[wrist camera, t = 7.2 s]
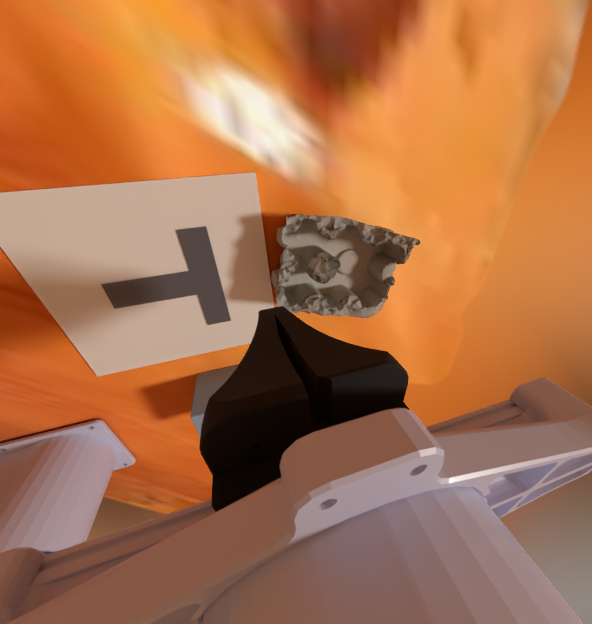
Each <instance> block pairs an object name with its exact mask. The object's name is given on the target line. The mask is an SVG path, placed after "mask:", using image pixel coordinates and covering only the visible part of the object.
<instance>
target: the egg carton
mask: <svg viewBox="0 0 592 624" xmlns="http://www.w3.org/2000/svg"><path fill="white" fill-rule="evenodd" d="M276 241H277V242H278V243H279V244H280V246H281V247H282V248H284V251H283V253H282V254H281V257H280V265H281V267H280V268H279V269H275V270H273V271H272V276H271V282H272V283H273V286H274V287H275V290H276V300H277V307H280V306H284V307H285V308H286V309H287V310H289V311H290V312H291V313H297V312H307V313H309V314H310V313H311V312H312V313H316V314H319V315H321V316H323V315H337V316H343V315H346V316H353V317H360V318H369V317H371V316H373V315H375V314H376V313H377V312H379V311H380V310H381V309H382V306H383V304H384V302H385V301H386V300H387V299H388V296H387V294H388V291H389V289H390V287H391V286H392V285H394V283H395V280H394V278H393V277H392V275H393V272H394V270H395V267H396V264H404V263H405V262H406V261H407V259H408V257H409V255H410V253H411V249H412V248H413V247H414V245H419V244H420V241H419V240H418V239H415V238H412V237H407V236H404V235H400V234H396V233H394V232H393V231H391V230H390V229H387V228H383V227H379V226H372V225H367V224H364V223H360V222H357V221H354V220H351V219H347V218H343V217H335V216H317V215H312V216H306V215H302V214H296V215H294V216H293V217H288V216H287V217H286V225H285V226H282V227H280V228H278V229H277V236H276Z"/></svg>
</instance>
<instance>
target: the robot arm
mask: <svg viewBox="0 0 592 624" xmlns="http://www.w3.org/2000/svg"><path fill="white" fill-rule="evenodd" d="M258 314H259V316H258V323H257V327H256V331H255V334H254V336H253V339H252V342H251V344H250V346H249V348H248V350H247V352H246V354H245V356H244V357H243V359H242V361H241V362H240V364H239V365H238V367H237V368H236V370H235V371H234V372H233V373H232V375H231V376H230V377H229V378H228V380H227V381H226V382H225V383H224V384H223V385H222V386H221V387H220V388H219V389H218V390H217V391H216V392H215V393H214V394H213V395H212V396H211V397H210V398H209V400H208V403H207V406H206V410H205V413H204V417H203V422H202V427H201V437H200V451H201V455H202V457H203V458H204V460H205V462H206V464H207V466H208V468H209V469H210V471H211V473H212V475H213V484H212V499H211V500H208V501H205V502H202V503H199V504H196V505H193V506H190V507H187V508H184V509H181V510H178V511H175V512H172V513H169V514H167V515H164V516H161V517H158V518H155V519H152V520H149V521H146V522H143V523H140V524H137V525H134V526H131V527H128V528H125V529H122V530H119V531H116V532H113V533H110V534H107V535H104V536H101V537H98V538H95V539H92V540H89V541H86V540H87V537H88V534H89V532H90V529H91V527H92V524H93V522H94V519H95V516H96V514H97V511H98V508H99V506H100V503H101V501H102V498H103V495H104V493H105V490H106V488H107V485H108V482H109V480H110V477H111V475H112V472H113V470H117V469H120V468H124V467H127V466H131V465H133V464H134V463H135V460H136V459H135V458H134V456H133V455H132V454H131V453H130V452H129V451H128V449H127V448H126V447H125V446H124V445H123V444H122V442H121V441H120V440H119V439H118V438H117V437H116V435H115V434H114V433H113V432H112V431H111V430H110V428H109V427H108V426H107V425H106V424H105V423H104V421H102V420H93V421H89V422H85V423H81V424H77V425H73V426H69V427H65V428H61V429H57V430H53V431H49V432H45V433H41V434H37V435H33V436H29V437H25V438H21V439H17V440H13V441H9V442H5V443H1V444H0V624H583V622H582V621H581V620H580V619H579V617H578V616H577V615H576V614H575V613H574V612H573V610H572V609H571V608H570V606H569V605H568V604H567V603H566V601H565V600H564V599H563V598H562V596H561V595H560V594H559V593H558V592H557V590H556V589H555V588H554V586H553V585H552V584H551V583H550V581H549V580H548V579H547V578H546V576H545V575H544V574H543V573H542V572H541V570H540V569H539V568H538V567H537V565H536V564H535V563H534V562H533V560H532V559H531V558H530V557H529V555H528V554H527V553H526V552H525V551H524V549H523V548H522V547H521V545H520V544H519V543H518V542H517V540H516V539H515V538H514V537H513V536H512V534H511V533H510V532H509V531H508V529H507V528H506V527H505V525H504V524H503V523H502V522H501V520H500V519H499V518H501V517H502V516H504V515H506V514H508V513H510V512H512V511H514V510H516V509H518V508H519V507H521V506H523V505H525V504H527V503H529V502H531V501H533V500H535V499H536V498H538V497H540V496H542V495H544V494H546V493H548V492H550V491H552V490H554V489H556V488H558V487H560V486H562V485H564V484H566V483H568V482H570V481H573V480H575V479H576V478H579V477H581V476H583V475H585V474H587V473H589V472H590V471H591V470H592V407H591V406H590V405H588V404H586V403H585V402H583V401H582V400H580V399H578V398H577V397H575V396H574V395H572V394H570V393H569V392H567V391H566V390H564V389H562V388H561V387H559V386H558V385H556V384H554V383H553V382H551V381H549V380H548V379H546V378H538V379H535V380H532V381H529V382H526V383H523V384H521V385H519V386H518V387H517V388H515V390H514V391H513V392H512V394H511V396H510V399H509V400H506V401H503V402H500V403H497V404H494V405H491V406H488V407H485V408H482V409H479V410H476V411H473V412H470V413H467V414H464V415H461V416H458V417H455V418H452V419H449V420H446V421H444V422H441V423H438V424H434V425H432V426H429V427H425V426H424V425H423V423H422V422H421V421H420V420H419V418H418V417H417V416H416V415H415V414H414V413H413V412H411V411H410V410H409V408H408V407H407V406H406V405H405V403H404V402H403V400H404V396H405V393H406V389H407V385H408V374H407V371H406V370H405V369H404V368H403V367H402V366H401V365H400V364H399V363H398V361H397V360H396V359H395V358H394V357H393V356H392V355H391V354H389V353H388V352H386V351H381V350H375V349H369V348H364V347H361V346H357V345H353V344H350V343H346V342H343V341H341V340H338V339H335V338H333V337H330V336H328V335H326V334H324V333H322V332H319V331H318V330H316V329H314V328H312V327H311V326H309V325H307V324H306V323H304V322H303V321H302V320H300V319H299V318H297V317H296V316H295V315H293V314H292V313H291V312H290V311H289V310H287V309H286V308H285V307H284V306H280V307H275V308H269V309H264V310H260V311H259V312H258Z"/></svg>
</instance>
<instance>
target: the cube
mask: <svg viewBox="0 0 592 624" xmlns="http://www.w3.org/2000/svg"><path fill="white" fill-rule="evenodd" d="M238 365H239V364H238ZM238 365H233V366H229V367H225V368H220V369H216V370H211V371H207V372H203V373H198V374H197V378H196V384H195V391H194V398H193V405H192V411H191V419H192V421H193V423H194V425H195V427H196V429H197V431H198V433H199V435H200V437H201V427H202V422H203V417H204V413H205V410H206V406H207V403H208V400H209V398H210V397H211V396H212V395H213V394H214V393H215V392H216V391H217V390H218V389H219V388H220V387H221V386H222V385H223V384H224V383H225V382H226V381H227V380H228V378H229V377H230V376H231V375H232V373H233V372H234V371H235V370H236V368H237V367H238Z"/></svg>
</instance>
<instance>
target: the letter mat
mask: <svg viewBox="0 0 592 624" xmlns="http://www.w3.org/2000/svg"><path fill="white" fill-rule="evenodd" d="M0 247H1V248H2V250H3V251H4V252H5V254H6V255H7V256H8V258H9V259H10V260H11V262H12V263H13V264H14V266H15V267H16V268H17V270H18V271H19V272H20V274H21V275H22V276H23V278H24V279H25V280H26V282H27V283H28V284H29V286H30V287H31V288H32V290H33V291H34V293H35V294H36V295H37V297H38V298H39V299H40V301H41V302H42V303H43V305H44V306H45V307H46V309H47V310H48V311H49V313H50V314H51V315H52V317H53V318H54V319H55V321H56V322H57V323H58V325H59V326H60V327H61V329H62V330H63V331H64V333H65V334H66V335H67V337H68V338H69V339H70V341H71V342H72V343H73V345H74V346H75V347H76V349H77V350H78V351H79V353H80V354H81V355H82V357H83V358H84V359H85V361H86V362H87V363H88V365H89V366H90V367H91V369H92V370H93V371H94V373H95V374H96V375H97V377H98V376H102V375H107V374H112V373H116V372H121V371H125V370H130V369H135V368H139V367H144V366H148V365H153V364H158V363H162V362H167V361H171V360H176V359H180V358H185V357H190V356H194V355H199V354H203V353H208V352H213V351H217V350H222V349H226V348H231V347H236V346H240V345H245V344H249V343H251V342H252V339H253V336H254V334H255V331H256V327H257V323H258V316H259V314H258V312H259V311H260V310H264V309H269V308H274V301H273V294H272V287H271V279H270V272H269V265H268V258H267V251H266V243H265V236H264V229H263V222H262V215H261V208H260V200H259V193H258V186H257V179H256V172H251V173H238V174H226V175H214V176H201V177H189V178H176V179H164V180H151V181H139V182H127V183H114V184H102V185H89V186H77V187H65V188H52V189H40V190H27V191H15V192H3V193H0Z"/></svg>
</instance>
